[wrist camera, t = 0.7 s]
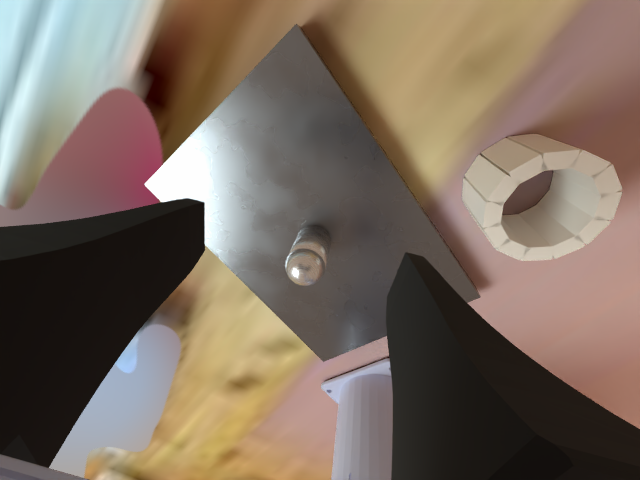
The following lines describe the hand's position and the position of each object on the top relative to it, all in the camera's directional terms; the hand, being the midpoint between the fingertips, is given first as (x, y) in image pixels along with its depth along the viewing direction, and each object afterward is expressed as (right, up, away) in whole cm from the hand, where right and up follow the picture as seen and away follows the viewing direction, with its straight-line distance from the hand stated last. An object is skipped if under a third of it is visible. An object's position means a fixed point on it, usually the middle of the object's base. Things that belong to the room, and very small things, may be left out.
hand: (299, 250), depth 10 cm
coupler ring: (+12, +4, +7) cm, 15 cm away
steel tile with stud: (0, +1, +11) cm, 11 cm away
